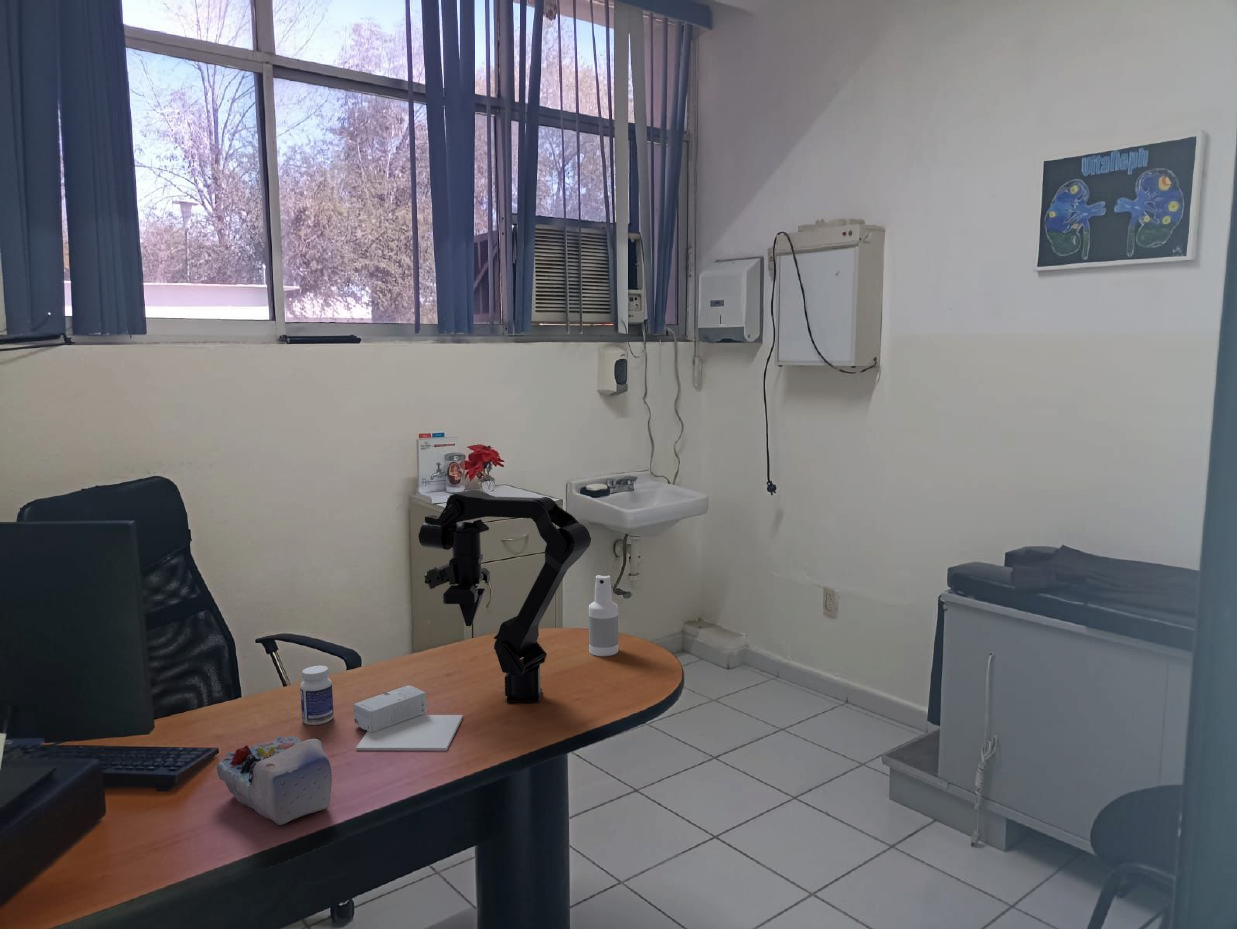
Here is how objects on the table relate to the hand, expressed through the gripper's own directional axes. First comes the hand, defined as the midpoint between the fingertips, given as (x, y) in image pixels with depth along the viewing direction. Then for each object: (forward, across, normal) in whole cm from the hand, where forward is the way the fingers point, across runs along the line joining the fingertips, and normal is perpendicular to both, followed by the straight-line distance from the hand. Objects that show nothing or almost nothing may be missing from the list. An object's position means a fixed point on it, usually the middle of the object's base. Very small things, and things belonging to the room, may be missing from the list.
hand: (468, 625), depth 180 cm
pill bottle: (+13, +17, -26) cm, 34 cm away
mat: (+13, +23, -6) cm, 27 cm away
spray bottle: (+13, -21, +27) cm, 37 cm away
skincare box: (+10, +13, -8) cm, 18 cm away
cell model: (+13, +47, -20) cm, 53 cm away
